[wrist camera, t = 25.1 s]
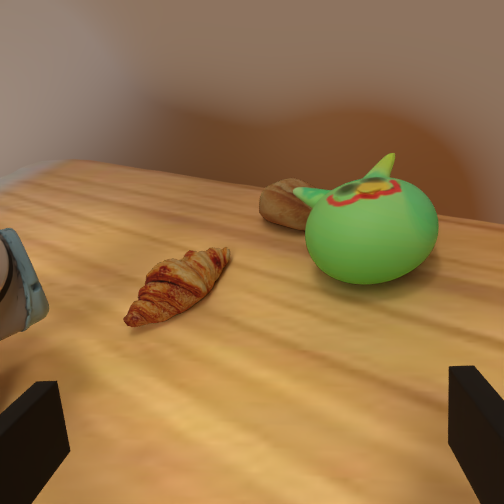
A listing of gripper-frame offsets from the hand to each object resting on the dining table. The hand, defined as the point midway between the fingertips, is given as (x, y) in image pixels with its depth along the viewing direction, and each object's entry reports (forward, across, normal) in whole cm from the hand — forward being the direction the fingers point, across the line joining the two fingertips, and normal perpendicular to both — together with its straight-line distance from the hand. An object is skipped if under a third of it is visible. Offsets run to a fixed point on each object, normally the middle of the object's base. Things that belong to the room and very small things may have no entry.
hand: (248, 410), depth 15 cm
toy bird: (+53, +13, -10) cm, 55 cm away
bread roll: (+69, +2, -5) cm, 69 cm away
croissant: (+54, -16, -13) cm, 58 cm away
